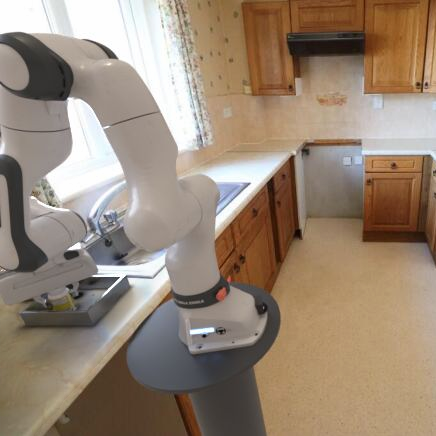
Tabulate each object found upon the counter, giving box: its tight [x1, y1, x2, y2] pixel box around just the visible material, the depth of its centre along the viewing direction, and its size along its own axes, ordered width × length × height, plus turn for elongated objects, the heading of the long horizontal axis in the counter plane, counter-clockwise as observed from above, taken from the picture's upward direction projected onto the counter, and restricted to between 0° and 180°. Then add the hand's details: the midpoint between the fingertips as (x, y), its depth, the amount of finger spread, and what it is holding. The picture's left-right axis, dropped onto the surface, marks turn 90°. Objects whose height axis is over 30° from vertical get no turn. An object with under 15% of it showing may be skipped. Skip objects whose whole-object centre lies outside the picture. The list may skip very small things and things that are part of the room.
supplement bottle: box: [47, 286, 78, 311], centre depth 89 cm, size 5×5×8 cm
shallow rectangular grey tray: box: [18, 274, 131, 327], centre depth 91 cm, size 19×17×4 cm
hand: (62, 300), depth 89 cm, fingers closed on supplement bottle, 5 cm apart
